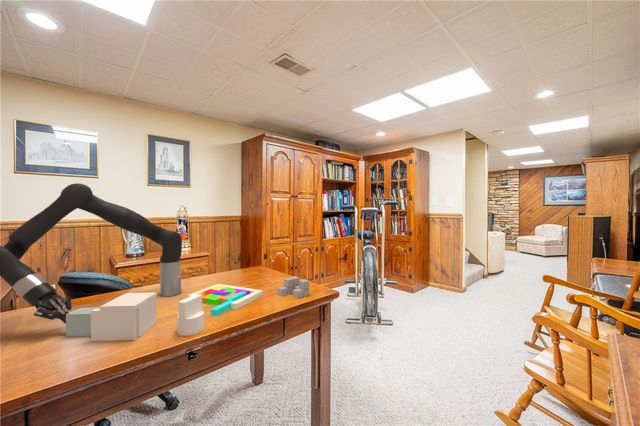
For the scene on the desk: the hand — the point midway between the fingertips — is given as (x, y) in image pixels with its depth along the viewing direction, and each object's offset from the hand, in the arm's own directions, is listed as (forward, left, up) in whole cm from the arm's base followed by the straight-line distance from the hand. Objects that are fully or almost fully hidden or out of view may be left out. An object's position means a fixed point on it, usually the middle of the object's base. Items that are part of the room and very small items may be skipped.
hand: (71, 322), depth 97 cm
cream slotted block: (-16, +9, -4) cm, 19 cm away
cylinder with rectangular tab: (-36, +21, -4) cm, 42 cm away
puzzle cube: (-87, +8, -4) cm, 88 cm away
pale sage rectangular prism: (-6, +3, -4) cm, 8 cm away
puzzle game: (-53, -5, -5) cm, 54 cm away
